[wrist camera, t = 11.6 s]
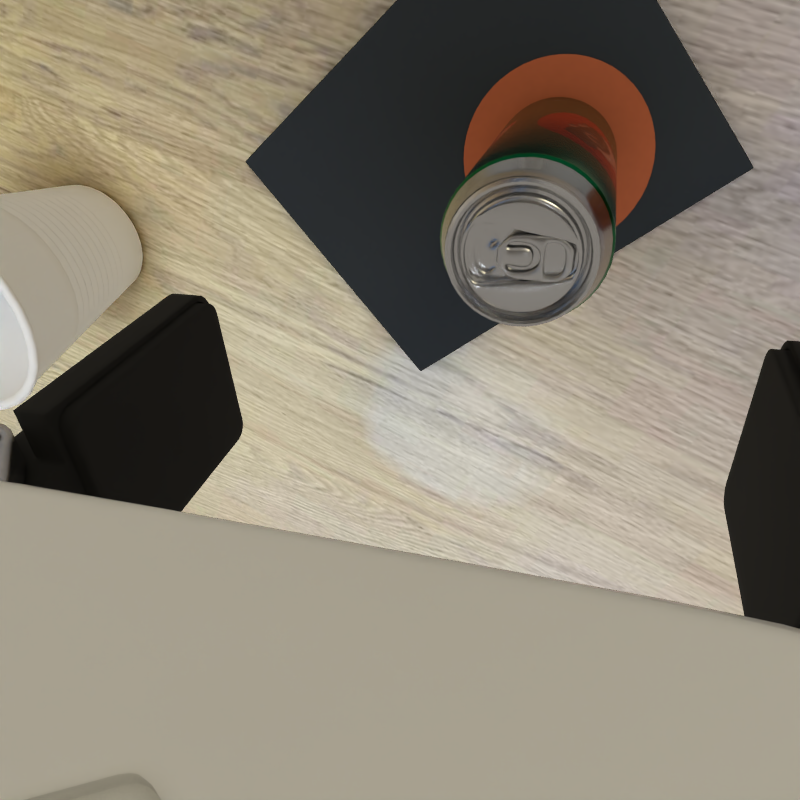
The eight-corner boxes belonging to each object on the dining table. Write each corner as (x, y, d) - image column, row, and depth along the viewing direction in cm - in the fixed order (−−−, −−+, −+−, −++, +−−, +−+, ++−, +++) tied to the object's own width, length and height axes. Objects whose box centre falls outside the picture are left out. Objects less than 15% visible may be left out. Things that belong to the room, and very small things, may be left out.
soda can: (500, 93, 26) (431, 158, 17) (626, 95, 25) (631, 166, 16) (492, 214, 29) (430, 329, 20) (606, 221, 28) (600, 347, 18)
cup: (1, 227, 38) (-182, 301, 30) (63, 105, 33) (-141, 150, 24) (129, 343, 41) (-7, 444, 32) (206, 247, 35) (68, 337, 26)
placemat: (558, -169, 22) (557, -172, 22) (752, 165, 26) (754, 168, 25) (248, 160, 32) (244, 162, 31) (422, 367, 35) (420, 372, 35)
